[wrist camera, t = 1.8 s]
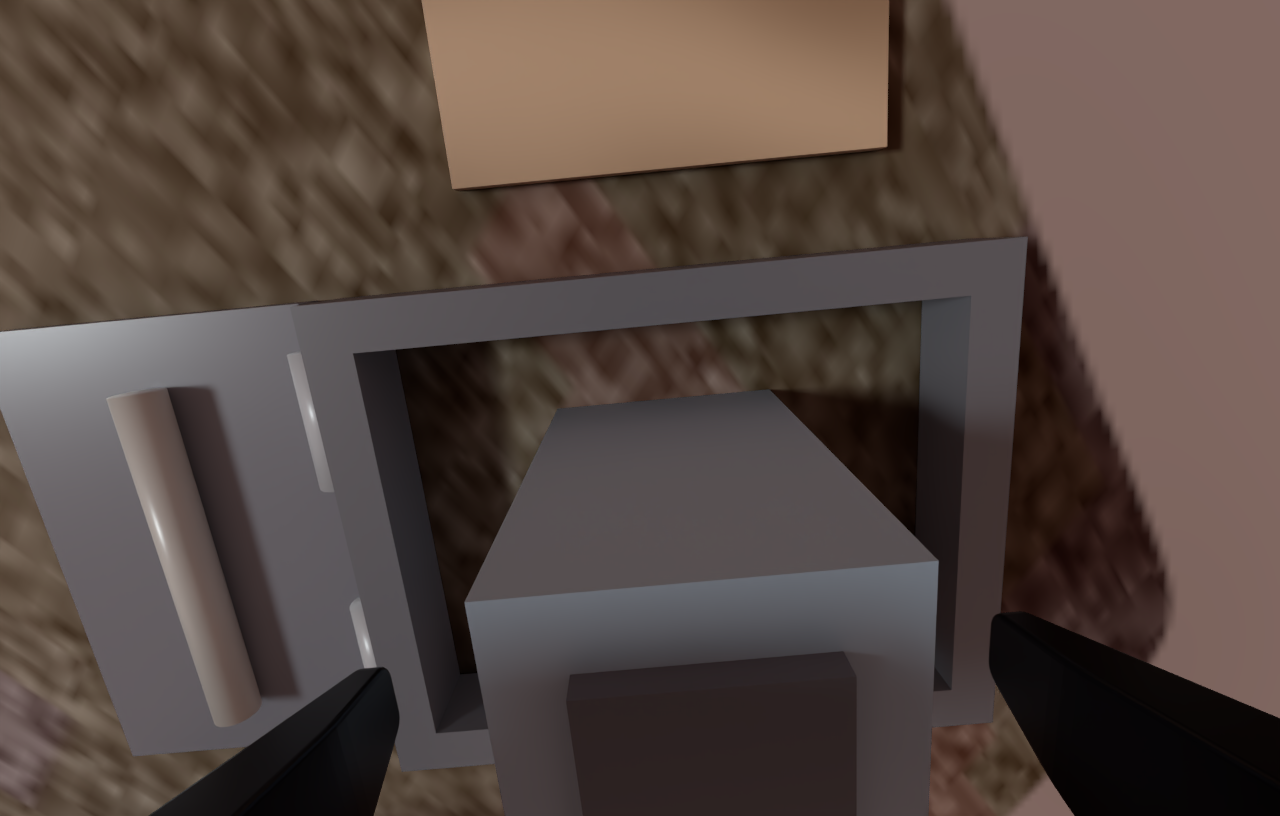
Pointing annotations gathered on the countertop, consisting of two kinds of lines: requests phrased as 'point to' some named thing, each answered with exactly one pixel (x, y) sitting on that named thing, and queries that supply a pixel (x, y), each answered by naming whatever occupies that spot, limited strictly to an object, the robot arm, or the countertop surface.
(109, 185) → the countertop surface
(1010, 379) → the case
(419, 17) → the countertop surface
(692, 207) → the countertop surface
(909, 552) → the block
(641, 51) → the pad
